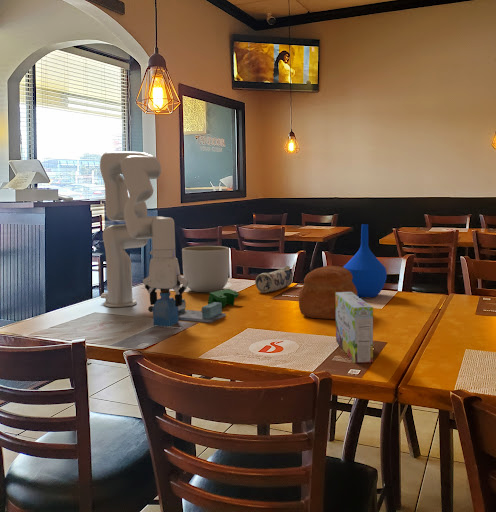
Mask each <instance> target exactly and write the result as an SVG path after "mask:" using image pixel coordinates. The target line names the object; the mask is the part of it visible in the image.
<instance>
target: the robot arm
mask: <svg viewBox="0 0 496 512" xmlns="http://www.w3.org/2000/svg"><path fill="white" fill-rule="evenodd" d="M161 165H162V164H161V163H160V161H159V159H158V157H156V156H154V155H153V154H148V153H146V152H141V151H123V150H122V151H118V150H115V151H113V150H112V151H107V152H105V153H103V154H102V155H101V157H100V161H99V169H100V174H101V176H102V177H101V178H102V180H103V184H104V193H105V194H104V195H105V196H104V198H105V199H104V200H105V201H104V202H105V213H106V217H107V219H108V220H109V221H111V222H124V223H125V224H124V223H123V224H112V225H111V224H110V225H108V226H106V227H104V229H103V231H102V241H103V245H104V250H105V261H106V266H105V267H106V279H107V280H106V282H107V283H106V285H107V287H106V288H107V292H102V293H101V294H100V298H101V299H105V301H104V302H103V305H104V306H105V307H107V308H126V307H131V306H135V305H137V304H138V303H137V301H138V300H136V299H135V298H133V275H132V274H133V273H132V259H131V257H130V255H129V254H128V253H127V252H126V249H138V248H143V247H145V246H146V245H147V244H148V239H151V242H152V249H151V250H150V251H149V254H150V256H151V255H152V258H150V260H149V268H148V276H147V277H145V278H144V279H142V284H143V285H144V288H145V289H146V290H147V293H148V294H149V302H150V306H154V304H155V303H156V301H157V299H158V292H157V290H160V289H170V290H173V291H174V292H175V295H174V300H175V306H176V307H178V306H180V305H182V299H183V294H184V292H185V291H186V290H187V288H188V287H187V285H188V283H189V282H188V281H187V280H186V279H184V277H182V276H181V271H180V265H179V260H178V258H177V257H176V234H175V232H176V231H175V230H176V229H175V220H174V219H173V218H172V217H167V216H166V217H165V216H162V215H161V216H160V215H159V216H157V215H155V216H152V215H151V216H148V206H147V204H146V201H147V200H149V199H150V198H152V196H153V194H154V187H153V184H152V182H151V180H157V179H158V178H159V177H160V176H161V174H162V166H161ZM181 284H182V286H181Z"/></svg>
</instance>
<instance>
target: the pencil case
mask: <svg viewBox="0 0 496 512" xmlns="http://www.w3.org/2000/svg"><path fill="white" fill-rule="evenodd" d="M293 280H294V274H293V272H292V271H291V266H287V265H285V267H280V268H278V269H277V270H274V271H270V272H262V273H260V274H258V275H257V276H256V278H255V286H256V290H258V291H259V293H263V294H264V293H266V294H267V293H271V292H276V291H278V290H281V289H283V288H287V287H289V286H291V284H292V283H293ZM286 286H287V287H286Z"/></svg>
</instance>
